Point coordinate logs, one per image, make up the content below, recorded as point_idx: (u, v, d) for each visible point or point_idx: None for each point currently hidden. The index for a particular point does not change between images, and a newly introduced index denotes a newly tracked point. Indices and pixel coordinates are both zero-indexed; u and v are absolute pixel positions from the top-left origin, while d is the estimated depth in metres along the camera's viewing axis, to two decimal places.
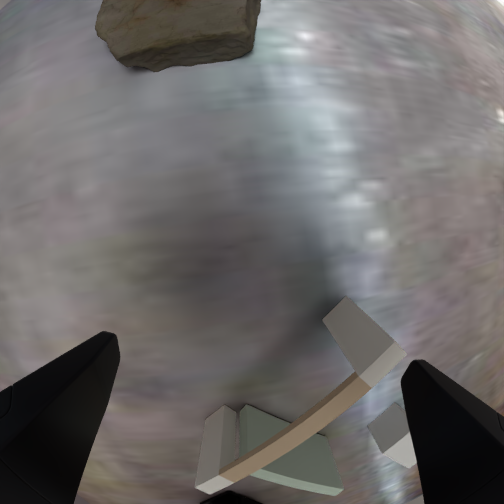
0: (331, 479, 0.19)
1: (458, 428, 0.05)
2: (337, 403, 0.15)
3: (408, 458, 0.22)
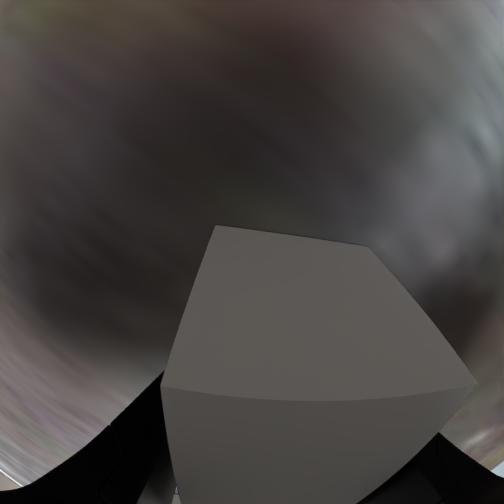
0: None
1: None
2: None
3: (352, 478, 0.04)
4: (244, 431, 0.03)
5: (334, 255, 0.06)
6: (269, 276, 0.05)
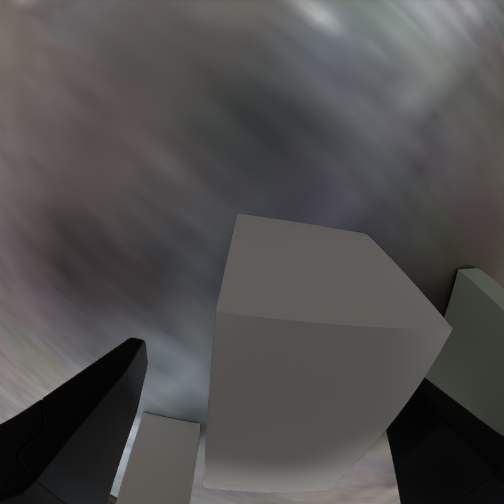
0: None
1: (435, 435, 0.05)
2: None
3: (356, 419, 0.05)
4: (273, 353, 0.04)
5: (337, 237, 0.08)
6: (286, 249, 0.06)
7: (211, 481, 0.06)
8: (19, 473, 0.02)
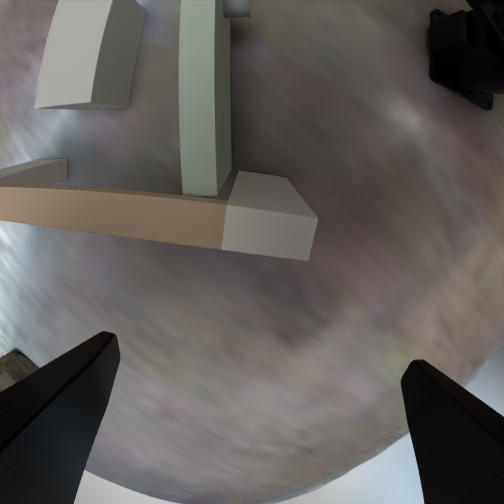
0: None
1: (458, 428, 0.05)
2: None
3: (90, 23, 0.09)
4: (68, 3, 0.08)
5: None
6: None
7: (38, 96, 0.10)
8: None
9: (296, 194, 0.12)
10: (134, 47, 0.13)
